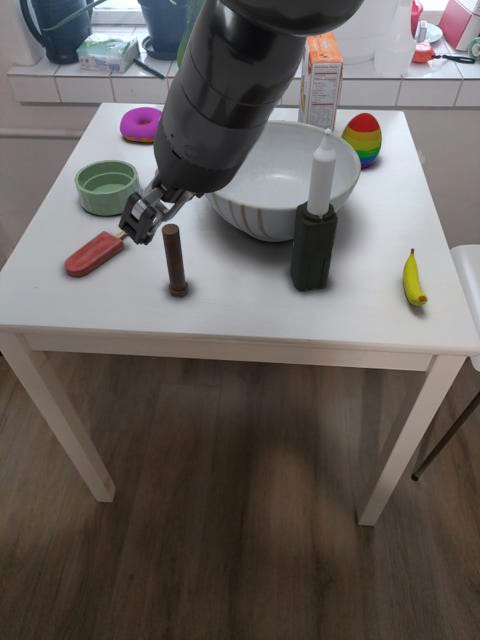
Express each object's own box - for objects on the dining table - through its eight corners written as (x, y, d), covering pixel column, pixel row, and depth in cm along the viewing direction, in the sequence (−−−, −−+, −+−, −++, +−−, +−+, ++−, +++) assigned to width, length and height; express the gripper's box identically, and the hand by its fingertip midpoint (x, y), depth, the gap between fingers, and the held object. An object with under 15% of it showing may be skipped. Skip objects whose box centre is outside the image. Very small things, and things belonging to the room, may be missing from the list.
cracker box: (294, 135, 108) (303, 30, 93) (321, 134, 108) (335, 30, 93) (299, 169, 99) (310, 59, 83) (329, 169, 99) (345, 59, 83)
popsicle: (143, 224, 84) (76, 273, 76) (145, 232, 86) (79, 281, 78) (124, 215, 86) (58, 262, 78) (126, 223, 87) (61, 270, 80)
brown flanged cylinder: (172, 299, 75) (162, 237, 66) (167, 286, 77) (157, 224, 68) (190, 294, 76) (183, 232, 67) (185, 281, 77) (177, 220, 68)
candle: (297, 292, 76) (314, 141, 57) (288, 270, 79) (302, 121, 60) (328, 287, 76) (356, 137, 58) (318, 266, 80) (341, 117, 61)
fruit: (398, 270, 79) (405, 246, 75) (411, 271, 79) (419, 247, 75) (408, 317, 72) (418, 293, 68) (423, 317, 72) (433, 294, 68)
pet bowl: (86, 223, 88) (79, 199, 84) (77, 189, 94) (70, 166, 91) (147, 209, 90) (143, 186, 86) (134, 178, 97) (129, 155, 93)
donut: (115, 142, 106) (111, 122, 103) (133, 121, 113) (129, 101, 109) (160, 148, 105) (157, 128, 101) (175, 126, 111) (173, 106, 108)
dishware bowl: (208, 279, 78) (203, 217, 69) (192, 185, 95) (187, 126, 86) (369, 261, 80) (385, 199, 71) (325, 173, 98) (334, 114, 89)
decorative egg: (379, 172, 98) (390, 124, 91) (338, 171, 98) (346, 123, 91) (374, 151, 103) (384, 104, 96) (335, 150, 104) (343, 103, 96)
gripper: (233, 47, 41) (186, 153, 55) (109, 136, 35) (94, 228, 50) (296, 113, 41) (233, 200, 56) (184, 211, 36) (147, 280, 50)
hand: (168, 213), depth 53 cm, fingers open, 8 cm apart
